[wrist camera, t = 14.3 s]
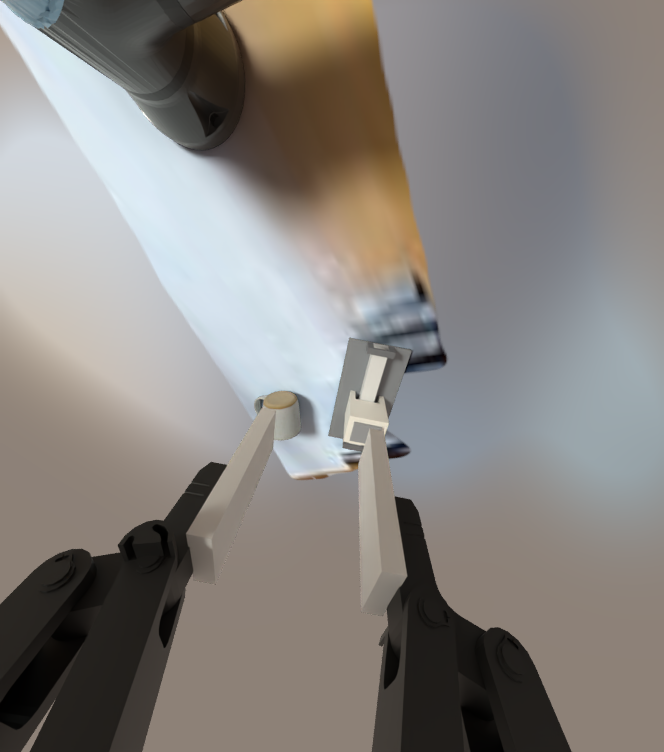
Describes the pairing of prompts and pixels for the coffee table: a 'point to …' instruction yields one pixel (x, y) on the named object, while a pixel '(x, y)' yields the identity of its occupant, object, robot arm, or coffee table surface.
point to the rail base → (357, 377)
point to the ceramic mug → (282, 413)
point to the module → (363, 419)
